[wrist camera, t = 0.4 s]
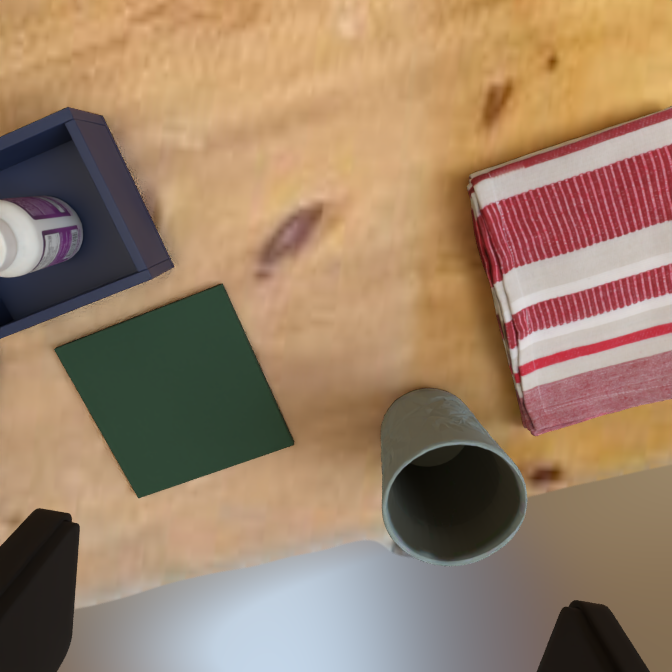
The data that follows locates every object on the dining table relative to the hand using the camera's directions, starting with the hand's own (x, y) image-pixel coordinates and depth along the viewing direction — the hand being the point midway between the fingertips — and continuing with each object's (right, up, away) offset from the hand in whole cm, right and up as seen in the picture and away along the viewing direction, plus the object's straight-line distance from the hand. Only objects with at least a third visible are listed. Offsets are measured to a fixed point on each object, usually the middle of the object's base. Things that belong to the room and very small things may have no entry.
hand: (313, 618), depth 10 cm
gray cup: (+9, -3, +38) cm, 39 cm away
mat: (-14, 0, +37) cm, 40 cm away
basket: (-23, +14, +33) cm, 42 cm away
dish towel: (+22, +10, +34) cm, 42 cm away
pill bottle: (-23, +14, +33) cm, 42 cm away
